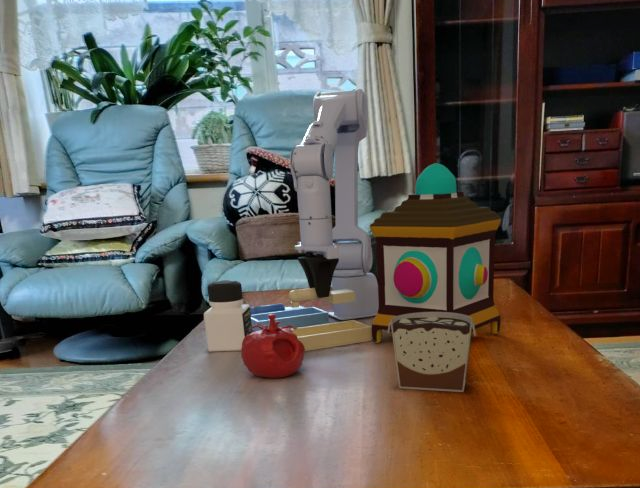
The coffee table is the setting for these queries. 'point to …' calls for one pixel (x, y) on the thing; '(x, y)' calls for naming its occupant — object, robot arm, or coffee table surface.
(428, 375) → the food container
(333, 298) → the pale yellow bar
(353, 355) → the coffee table surface
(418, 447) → the coffee table surface
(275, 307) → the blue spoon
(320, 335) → the cream bin
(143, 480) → the coffee table surface
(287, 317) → the blue bin
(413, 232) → the decorative lantern
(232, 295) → the medicine bottle
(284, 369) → the pomegranate
